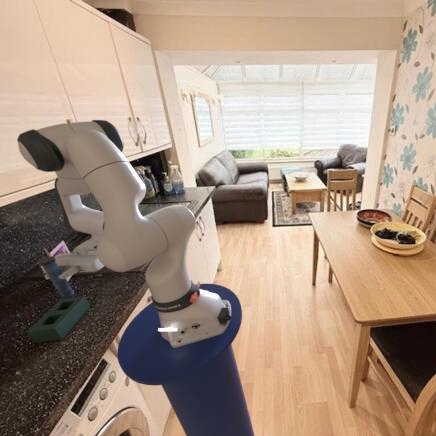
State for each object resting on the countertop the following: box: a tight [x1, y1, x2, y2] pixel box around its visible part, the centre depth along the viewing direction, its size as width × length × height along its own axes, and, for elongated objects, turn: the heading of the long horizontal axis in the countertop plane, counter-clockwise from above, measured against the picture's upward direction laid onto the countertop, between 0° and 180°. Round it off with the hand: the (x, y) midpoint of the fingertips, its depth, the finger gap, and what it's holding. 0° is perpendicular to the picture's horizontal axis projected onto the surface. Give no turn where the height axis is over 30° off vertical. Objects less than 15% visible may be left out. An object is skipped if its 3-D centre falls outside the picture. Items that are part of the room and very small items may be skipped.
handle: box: [38, 256, 75, 299], centre depth 79 cm, size 4×4×15 cm
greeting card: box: [42, 240, 73, 282], centre depth 103 cm, size 11×7×15 cm, turn 20°
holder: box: [26, 295, 91, 344], centre depth 81 cm, size 8×14×5 cm, turn 7°
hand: (53, 277), depth 78 cm, fingers closed on handle, 3 cm apart
